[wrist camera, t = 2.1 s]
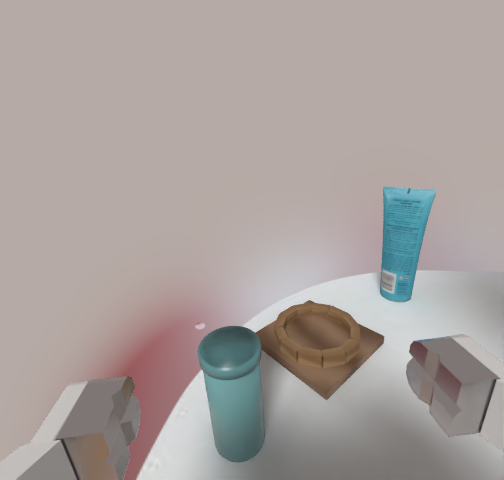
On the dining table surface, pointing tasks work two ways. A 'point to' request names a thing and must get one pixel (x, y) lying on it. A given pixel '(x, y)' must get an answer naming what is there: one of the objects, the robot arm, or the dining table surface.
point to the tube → (403, 238)
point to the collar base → (319, 344)
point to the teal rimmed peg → (234, 390)
